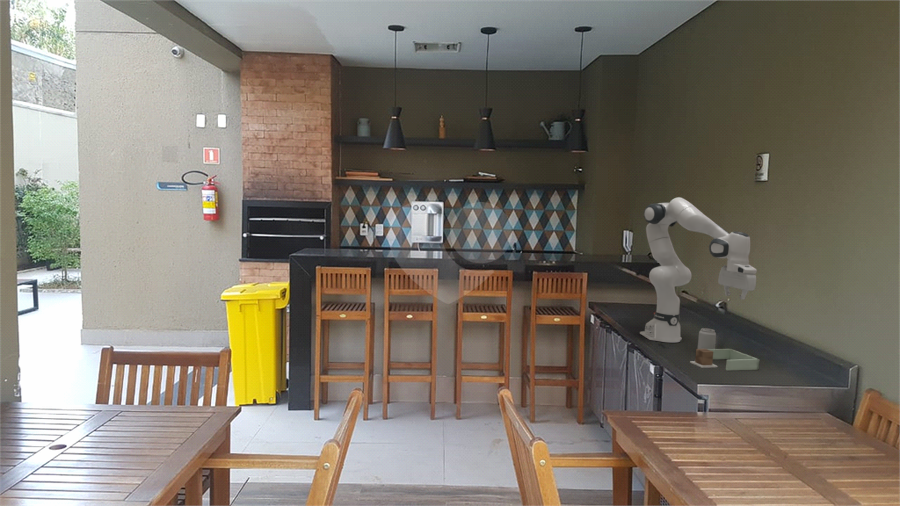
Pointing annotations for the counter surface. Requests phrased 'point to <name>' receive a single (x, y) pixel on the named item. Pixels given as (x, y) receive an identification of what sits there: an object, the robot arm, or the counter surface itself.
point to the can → (706, 339)
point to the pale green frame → (736, 359)
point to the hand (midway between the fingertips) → (734, 297)
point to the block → (704, 357)
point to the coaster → (703, 365)
